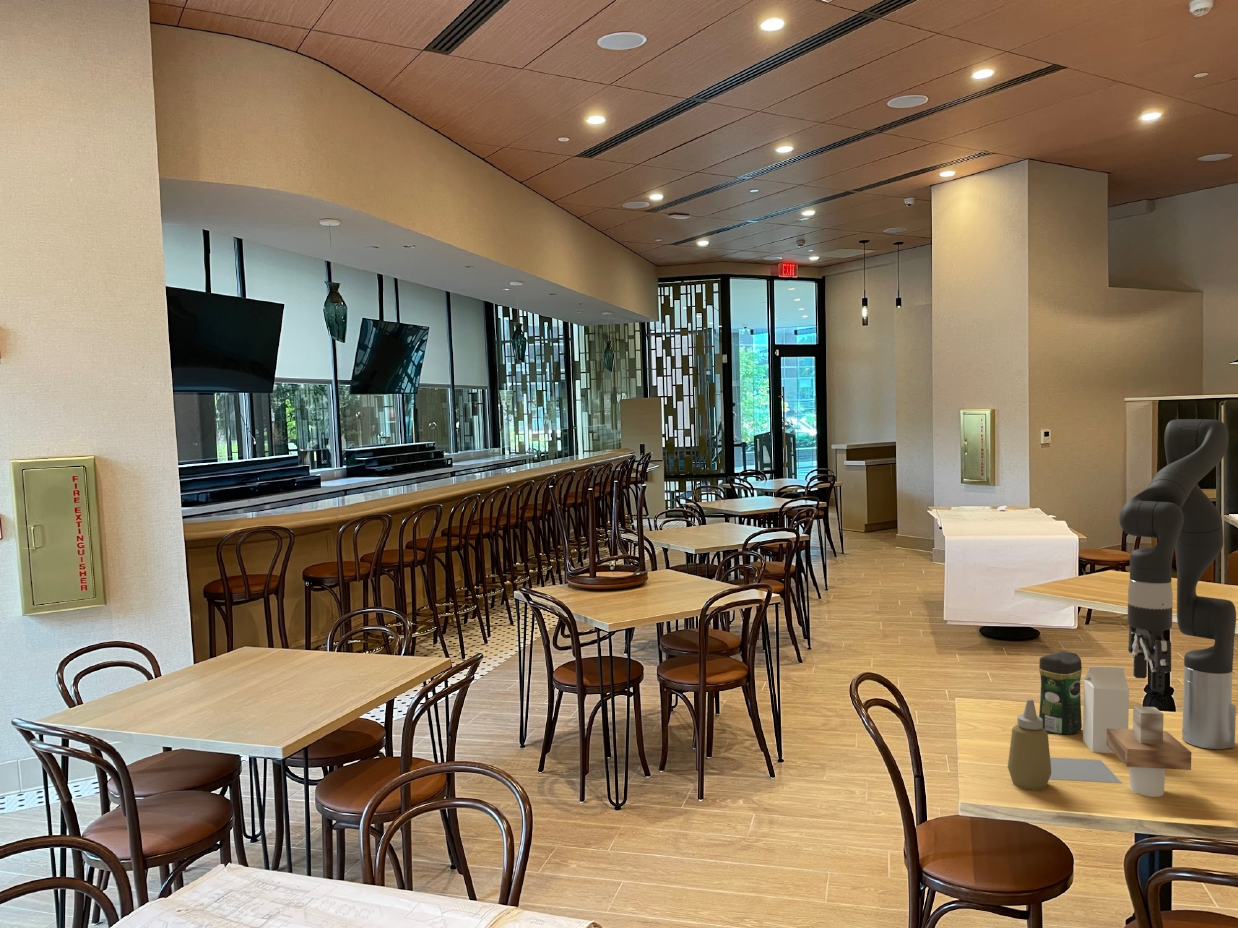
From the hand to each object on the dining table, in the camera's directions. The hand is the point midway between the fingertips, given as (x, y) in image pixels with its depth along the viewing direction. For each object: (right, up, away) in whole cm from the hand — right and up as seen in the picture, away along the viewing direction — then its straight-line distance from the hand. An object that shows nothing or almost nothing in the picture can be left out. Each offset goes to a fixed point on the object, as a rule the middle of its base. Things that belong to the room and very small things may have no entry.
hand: (1148, 684), depth 175 cm
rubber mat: (-8, -22, +12) cm, 26 cm away
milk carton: (+4, -21, +24) cm, 32 cm away
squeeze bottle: (-21, -23, +5) cm, 31 cm away
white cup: (0, -22, +1) cm, 22 cm away
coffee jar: (+1, -20, +37) cm, 42 cm away
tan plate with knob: (0, -15, +1) cm, 15 cm away
